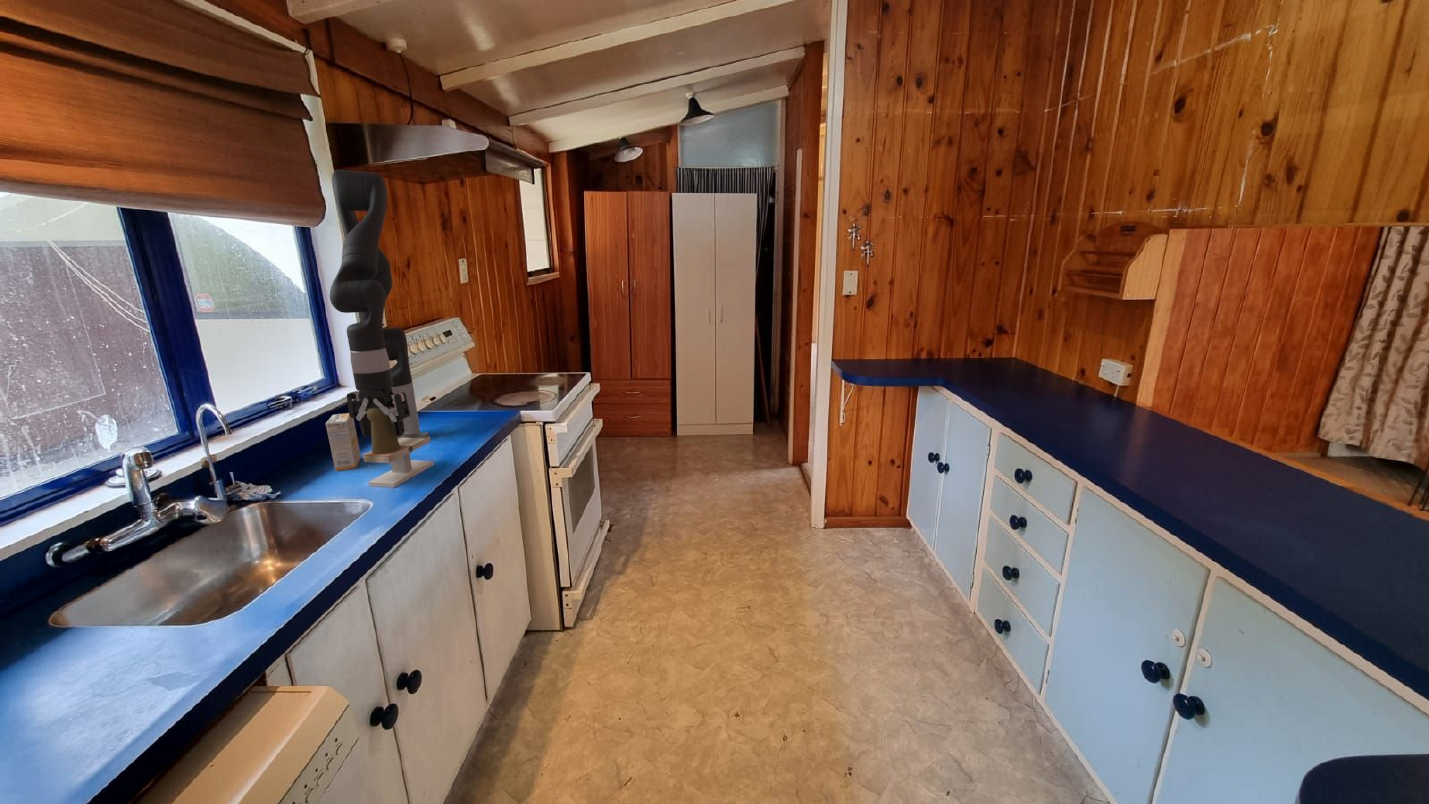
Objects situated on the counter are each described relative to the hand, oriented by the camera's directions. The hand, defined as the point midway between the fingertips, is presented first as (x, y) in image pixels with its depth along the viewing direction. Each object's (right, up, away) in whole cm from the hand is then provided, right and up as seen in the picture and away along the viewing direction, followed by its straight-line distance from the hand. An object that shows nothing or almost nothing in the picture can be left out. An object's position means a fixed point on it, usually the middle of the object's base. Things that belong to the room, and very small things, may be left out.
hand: (383, 435), depth 135 cm
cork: (0, -4, +1) cm, 4 cm away
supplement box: (-18, -9, +15) cm, 24 cm away
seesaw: (+1, -4, +5) cm, 6 cm away
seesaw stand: (+1, -10, +7) cm, 12 cm away
